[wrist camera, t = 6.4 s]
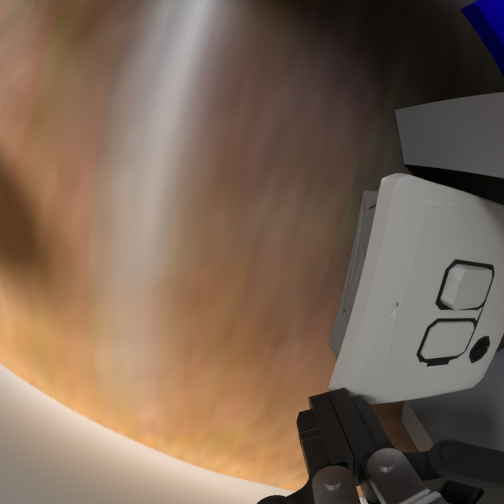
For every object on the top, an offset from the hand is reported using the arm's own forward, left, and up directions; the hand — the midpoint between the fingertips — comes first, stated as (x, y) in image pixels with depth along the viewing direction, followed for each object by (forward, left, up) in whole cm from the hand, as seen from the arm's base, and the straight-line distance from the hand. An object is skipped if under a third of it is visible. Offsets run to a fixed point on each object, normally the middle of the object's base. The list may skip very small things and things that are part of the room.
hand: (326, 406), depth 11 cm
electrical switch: (-2, +10, -4) cm, 11 cm away
